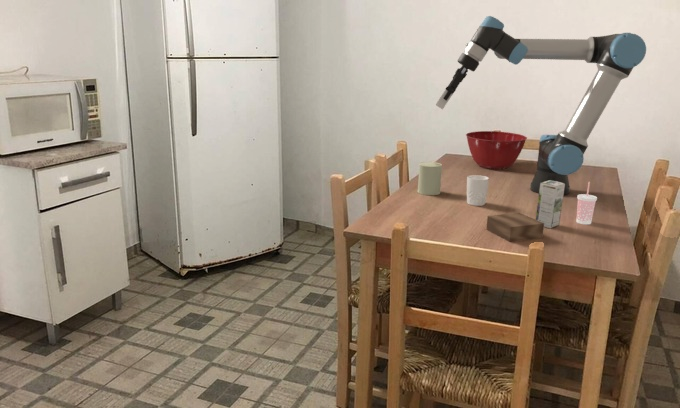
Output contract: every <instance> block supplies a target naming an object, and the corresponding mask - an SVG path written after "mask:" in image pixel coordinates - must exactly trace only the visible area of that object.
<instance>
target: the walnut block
mask: <svg viewBox="0 0 680 408" xmlns="http://www.w3.org/2000/svg"><path fill="white" fill-rule="evenodd" d="M486 220H487V221H486V231H488V232H490V233H491V234H494V235H495V236H497V237H500V238H501V239H503V240H505V241H507V242H509V243H512V242H520V241H527V240H536V239H543V235H544V228H545V227H544V223H542V222H540V221H537V220H536V218H532V217H531V216H528V215H525V214H524V213H522V212H513V213H503V214H501V213H500V214H493V215H487V219H486Z"/></svg>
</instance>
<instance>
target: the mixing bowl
mask: <svg viewBox="0 0 680 408" xmlns="http://www.w3.org/2000/svg"><path fill="white" fill-rule="evenodd" d="M465 136H466V139H467V145H468V148H469V152H470V154H471V156H472V158H473V160H474V161H473V162H475V163H476V164H477V165H478V166H479V167H480V166H481V168H483V167H484V168H483V169H487V168H491V169H490V170H504V169H503V168H506V169H508V168H509V167H511V166H512V165H513V164H515V162H516V161H517V159H518V158H519V156H520V154H521V153H522V150H523V148H524V146H525V143H526V141H527V139H528V137H527V136H526V135H522V134H519V133H515V132H513V133H512V132H507V131H492V130H491V131H489V130H482V131H479V130H477V131H471V132H470V131H469V132H468V133H466V134H465Z"/></svg>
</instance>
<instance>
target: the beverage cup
mask: <svg viewBox="0 0 680 408" xmlns="http://www.w3.org/2000/svg"><path fill="white" fill-rule="evenodd" d="M590 184H591V181H588V183H587V190H586V193H585V194H584V193H583V194H582V193H581V194H579V193H578V194H577V197H576V199H577V206H576V220H575V222H576V223H577V224H581V225H592V220H593V216H594V211H595V206H596V201H597V200H598V197H597V196H596V195H592V194H589V191H590Z"/></svg>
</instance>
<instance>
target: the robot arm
mask: <svg viewBox="0 0 680 408" xmlns="http://www.w3.org/2000/svg"><path fill="white" fill-rule="evenodd" d="M504 28H505V25H504V23H503V22H502V21H500V20H499V19H498V18H496V17H495V16H493V15H492V16H491V15H488V16H486V17H485V18H484V20H483V21H482V23H480V25H479V27H478V28H477V29H476V31H475V33H474V34H473V35H472V38H471V39H470V41H469V42H468V43H466V44H465V48H464V51H463V52H462V53H461V54H460V56H459V57H458V59H457V62H458V63H459V64H460V65H461V67H459V68H456V70H455V73H454V75H453V76H452V79H451V81H450V82H449V83H448V85H447V86H445V87H446V88H445V89H444V91H443V93H442V94H441V95H440V97H439V99H438V100H437V102H436V104H435V105H436V107H438V108H439V109H441V110H443V109H444V108H445V107H446V105H447V104H448V102H449V100H450V99H451V97H452V96H453V95H454V93H455V92H456V91H457V88H458V87H459V85H460V84H461V83H462V82H463V80H464V79H465V78H466V76H468V74H467V73H468V71H471V72H475V71H476V70H477V68H479V65H480V62H482V61H483V59H485V56H487V54H488V52H489V50H490V51H492V52H493V53H494V55H495V56H496V58H498V59H502V60H506V61H508V62H509V63H512V64H513V65H518V64H520V63H521V61H523V60H556V61H557V60H559V61H561V60H563V61H565V60H566V61H568V60H569V61H585V63H588V64H596V67H597V68H596V69H597V72H596V73H595V75H594V77H593V79H592V80H591V82H590V84H589V86H588V88H587V89H586V91H585V93H584V95H583V97H582V98H581V100H580V102H579V104H578V105H577V108H575V111H574V112H573V114H572V117H571V118H570V120H569V122H568V124H567V125H566V127H565V128H564V130H562V131H559V132H558V133H557V134H542V135H541V136H540V139H539V142H538V143H539V144H538V145H539V146H538V155H537V164H536V172H535V174H534V175H533V179H532V181H531V183H530V186H529V187H530V188H529V189H530V191H532V192H534V193H537V194H539V190H540V183H542V182H545V181H549V180H551V181H558V182H561V183H564V184H565V187H564V194H563V196H564V195H568V194H569V193H570V190H571V187H570V182H569V177H568V175H572V174H575V173H576V172H577V171H579V170H580V168H581V167H582V165H583V163H584V159H585V158H584V154H585V153H586V151H587V149H588V147H589V144H588V138H589V137H590V135H591V133H592V131H593V130H594V128H595V126H596V124H597V123H598V121H599V119H600V117H601V116H602V115H603V112H604V111H605V109H606V107H607V105H608V104H609V102H610V101H611V99H612V96H613V95H614V93H615V91H616V90H617V88H618V86H619V84H620V82H621V81H622V80H624V79H627V78H629V76H630V74H631V73H632V70H633V69H634V68H635V67H636V66H638V65H640V64H641V63H642V61H643V60H644V59H645V57H646V53H647V46H646V43H645V40H644V39H643V38H642V37H641V36H639V35H638V34H636V33H631V32H622V33H614V34H608V35H600V36H589V38H586V39H585V38H584V39H579V38H576V39H575V38H574V39H573V38H571V39H570V38H514V37H513V36H511V35H510V34H508V33H507V32H505V31H504Z"/></svg>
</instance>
